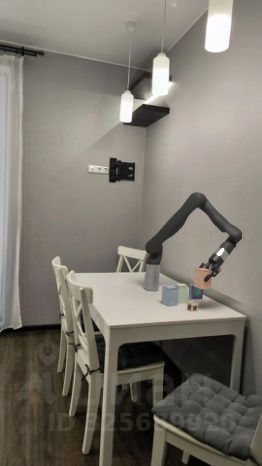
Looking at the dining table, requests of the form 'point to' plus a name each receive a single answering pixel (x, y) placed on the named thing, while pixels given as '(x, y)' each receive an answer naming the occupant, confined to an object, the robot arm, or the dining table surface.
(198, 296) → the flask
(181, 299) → the pale green bevelled block
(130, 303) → the dining table surface
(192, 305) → the tan cube
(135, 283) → the dining table surface
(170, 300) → the blue grey bevelled block
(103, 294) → the dining table surface
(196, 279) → the peach pink block
